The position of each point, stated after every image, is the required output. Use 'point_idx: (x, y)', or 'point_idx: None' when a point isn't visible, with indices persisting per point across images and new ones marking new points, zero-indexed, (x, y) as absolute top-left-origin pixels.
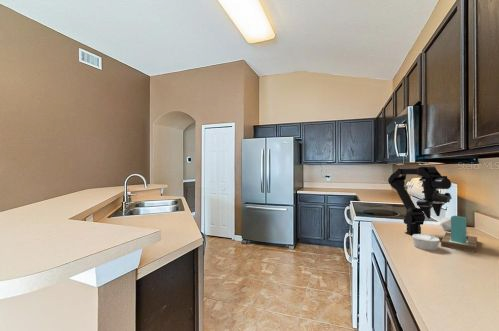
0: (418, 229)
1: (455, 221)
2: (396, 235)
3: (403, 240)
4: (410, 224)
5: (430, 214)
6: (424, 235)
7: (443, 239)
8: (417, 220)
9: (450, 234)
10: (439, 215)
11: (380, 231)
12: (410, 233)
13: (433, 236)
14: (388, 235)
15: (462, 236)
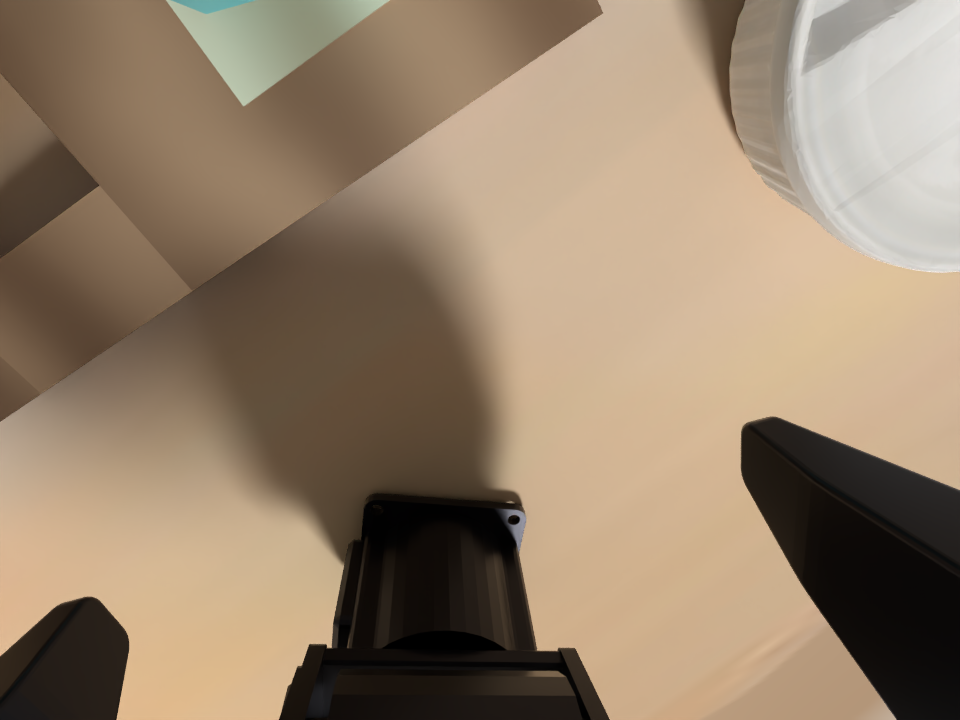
0: (420, 571)
1: None
2: (692, 561)
3: (820, 389)
4: (577, 656)
5: (895, 510)
6: (894, 153)
7: (442, 94)
8: (520, 688)
9: (7, 314)
10: (46, 618)
11: (715, 699)
12: (517, 554)
13: (804, 38)
14: (782, 577)
15: None
